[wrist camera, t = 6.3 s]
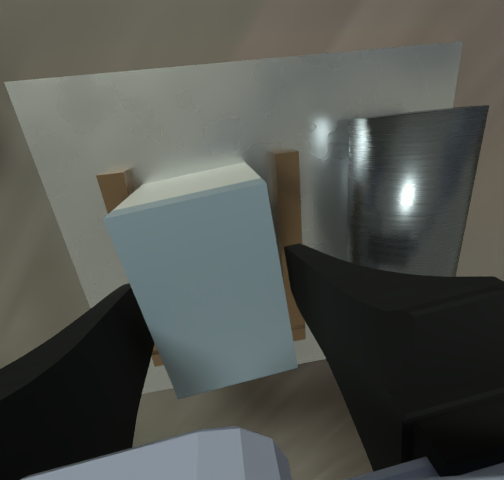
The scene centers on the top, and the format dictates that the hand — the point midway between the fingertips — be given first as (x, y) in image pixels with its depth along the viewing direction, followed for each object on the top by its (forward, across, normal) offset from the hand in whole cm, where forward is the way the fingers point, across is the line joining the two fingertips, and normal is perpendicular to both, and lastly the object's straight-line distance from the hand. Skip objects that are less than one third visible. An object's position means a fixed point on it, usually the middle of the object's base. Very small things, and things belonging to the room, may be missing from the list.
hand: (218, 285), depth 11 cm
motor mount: (+4, -2, 0) cm, 5 cm away
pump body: (+3, 0, 0) cm, 3 cm away
